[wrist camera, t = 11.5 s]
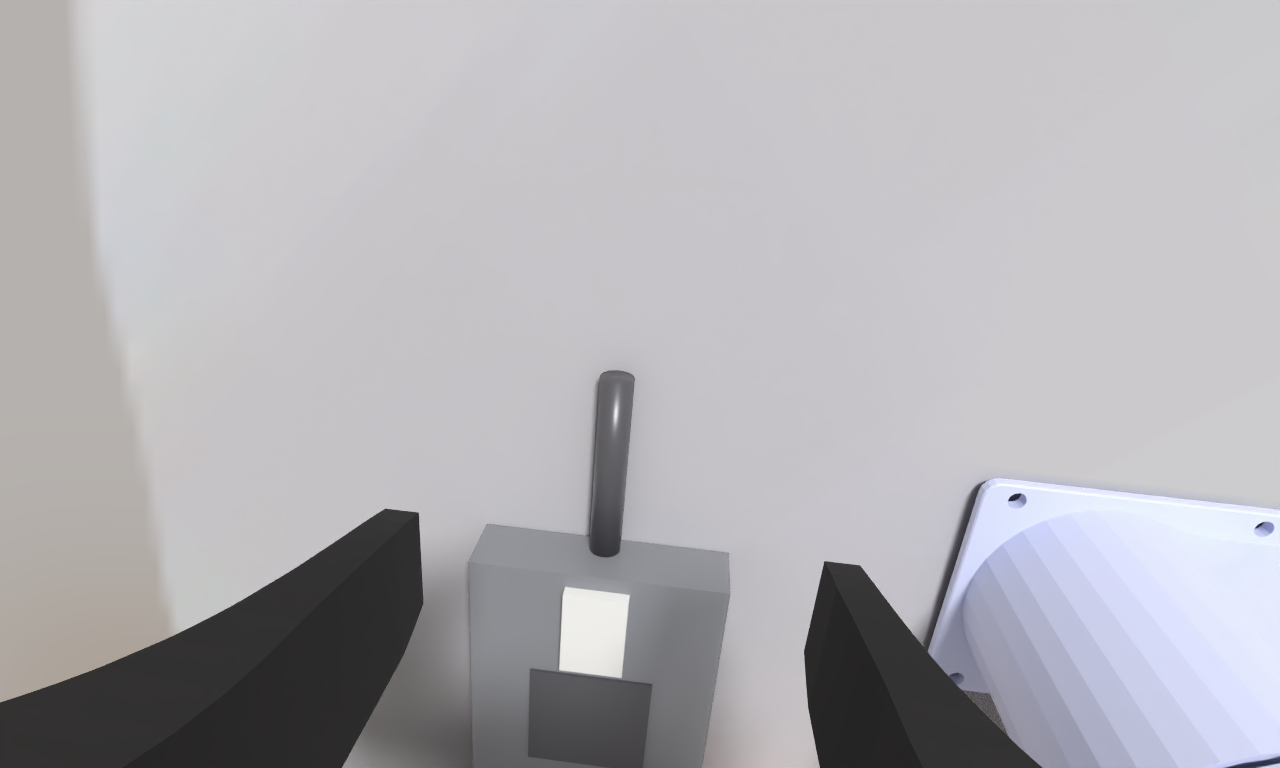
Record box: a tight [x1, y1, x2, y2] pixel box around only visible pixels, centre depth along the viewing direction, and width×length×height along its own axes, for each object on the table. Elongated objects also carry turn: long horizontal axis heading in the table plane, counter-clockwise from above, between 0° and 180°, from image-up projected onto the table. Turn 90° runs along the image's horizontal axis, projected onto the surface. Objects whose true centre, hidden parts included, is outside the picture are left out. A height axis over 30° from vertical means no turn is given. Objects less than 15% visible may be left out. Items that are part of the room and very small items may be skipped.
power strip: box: [469, 371, 730, 768], centre depth 25 cm, size 8×24×2 cm, turn 175°
